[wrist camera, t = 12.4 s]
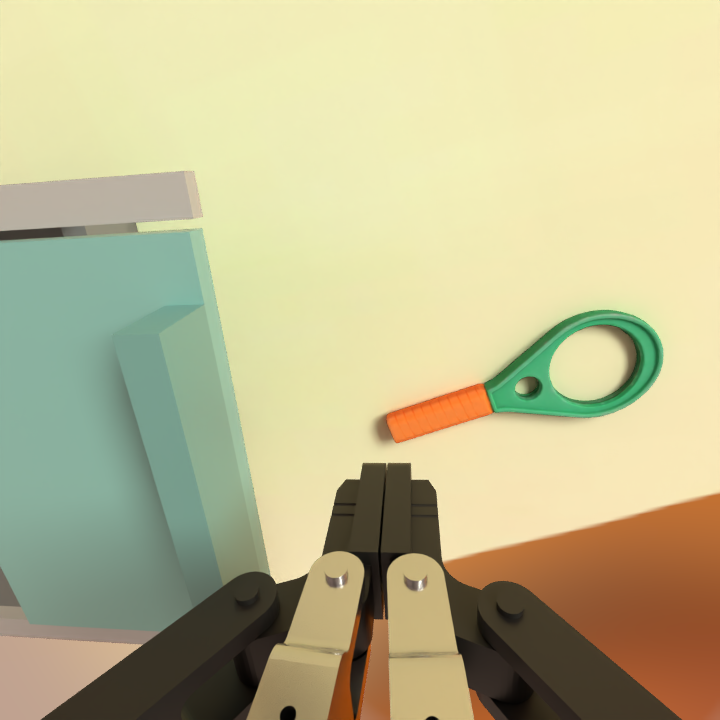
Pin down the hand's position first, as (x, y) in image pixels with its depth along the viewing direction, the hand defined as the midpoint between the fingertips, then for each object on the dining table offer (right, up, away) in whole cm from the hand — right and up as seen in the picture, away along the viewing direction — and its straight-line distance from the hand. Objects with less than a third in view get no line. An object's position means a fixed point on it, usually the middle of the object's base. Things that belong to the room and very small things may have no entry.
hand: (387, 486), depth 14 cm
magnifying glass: (+8, +3, +12) cm, 15 cm away
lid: (-10, 0, +3) cm, 11 cm away
